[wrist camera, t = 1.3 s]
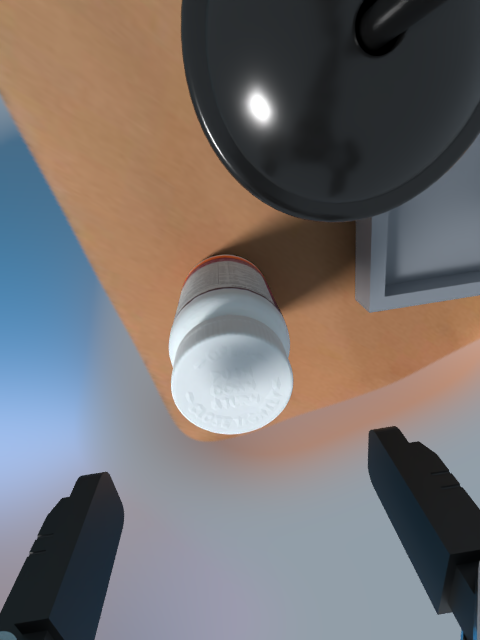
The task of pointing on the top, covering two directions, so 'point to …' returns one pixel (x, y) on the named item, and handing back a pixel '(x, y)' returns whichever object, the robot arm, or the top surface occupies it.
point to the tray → (424, 244)
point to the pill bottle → (229, 348)
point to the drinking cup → (334, 97)
